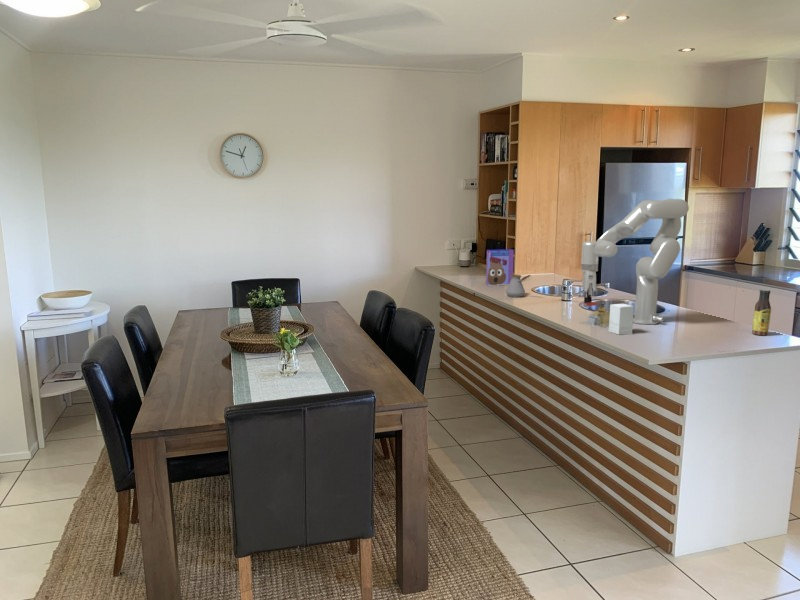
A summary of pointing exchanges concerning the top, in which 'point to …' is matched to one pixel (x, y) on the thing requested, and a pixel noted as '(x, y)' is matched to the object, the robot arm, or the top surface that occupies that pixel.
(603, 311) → the valve
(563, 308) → the top surface
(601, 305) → the lever
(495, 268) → the cereal box
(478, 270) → the top surface
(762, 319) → the sauce bottle
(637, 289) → the robot arm
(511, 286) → the coffee pot
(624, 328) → the supplement box
